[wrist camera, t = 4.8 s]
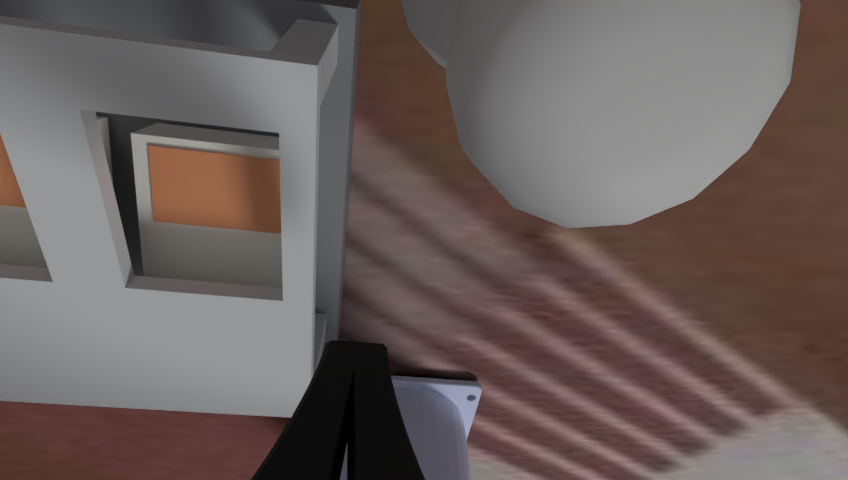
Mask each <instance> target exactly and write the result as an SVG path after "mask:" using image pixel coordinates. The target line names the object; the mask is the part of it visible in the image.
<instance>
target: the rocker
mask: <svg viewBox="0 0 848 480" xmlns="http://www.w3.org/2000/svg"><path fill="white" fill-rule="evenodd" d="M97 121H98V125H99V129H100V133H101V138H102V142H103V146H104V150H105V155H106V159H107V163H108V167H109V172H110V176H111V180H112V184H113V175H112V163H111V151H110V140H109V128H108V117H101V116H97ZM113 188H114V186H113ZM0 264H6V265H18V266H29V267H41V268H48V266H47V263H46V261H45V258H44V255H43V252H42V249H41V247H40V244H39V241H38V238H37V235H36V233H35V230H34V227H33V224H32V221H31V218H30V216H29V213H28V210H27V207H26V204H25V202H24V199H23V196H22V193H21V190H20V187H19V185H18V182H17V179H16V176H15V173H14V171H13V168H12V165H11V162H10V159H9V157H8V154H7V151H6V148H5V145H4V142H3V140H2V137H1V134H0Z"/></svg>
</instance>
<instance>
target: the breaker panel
mask: <svg viewBox="0 0 848 480" xmlns="http://www.w3.org/2000/svg"><path fill="white" fill-rule="evenodd" d="M361 3H362V0H0V134H1V137H2V140H3V142H4V145H5V148H6V151H7V154H8V157H9V159H10V162H11V165H12V168H13V171H14V173H15V176H16V179H17V182H18V185H19V187H20V190H21V193H22V196H23V199H24V202H25V204H26V207H27V210H28V213H29V216H30V218H31V221H32V224H33V227H34V230H35V233H36V235H37V238H38V241H39V244H40V247H41V249H42V252H43V255H44V258H45V261H46V263H47V266H48V268H41V267H29V266H18V265H6V264H0V401H16V402H33V403H50V404H67V405H84V406H101V407H118V408H135V409H152V410H169V411H187V412H204V413H221V414H238V415H255V416H272V417H289V418H291V417H292V415H293V414H294V412H295V410H296V408H297V406H298V404H299V403H300V401H301V399H302V397H303V395H304V393H305V392H306V390H307V388H308V386H309V384H310V381H311V379H312V377H313V375H314V373H315V371H316V369H317V366H318V364H319V361H320V359H321V356H322V354H323V351H324V347H325V344H326V343H327V342H329V341H330V340H335V341H338V337H339V331H340V324H341V312H342V297H343V281H344V266H345V250H346V235H347V219H348V204H349V189H350V173H351V158H352V142H353V127H354V111H355V96H356V80H357V65H358V50H359V34H360V19H361ZM97 116H101V117H108V128H109V140H110V151H111V163H112V175H113V184H112V180H111V176H110V172H109V167H108V163H107V159H106V155H105V150H104V146H103V142H102V138H101V133H100V129H99V125H98V121H97ZM155 123H163V124H172V125H180V126H189V127H197V128H206V129H215V130H223V131H232V132H240V133H249V134H258V135H266V136H275V137H279V155H280V197H281V240H282V283H283V288H276V287H264V286H253V285H241V284H229V283H217V282H206V281H194V280H182V279H170V278H159V277H147V276H143V265H142V253H141V242H140V231H139V220H138V209H137V198H136V187H135V176H134V165H133V153H132V142H131V133H132V132H135V131H137V130H140V129H143V128H145V127H148V126H150V125H153V124H155ZM113 186H114V188H113Z"/></svg>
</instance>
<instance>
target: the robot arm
mask: <svg viewBox="0 0 848 480" xmlns="http://www.w3.org/2000/svg"><path fill="white" fill-rule="evenodd" d="M481 393H482V388H481V385H480V383H478V382H476V381H465V380H451V379H436V378H421V377H407V376H392V375H391V374H390V368H389V362H388V354H387V347H386V346H385V345H384V344H375V343H362V342H349V341H335V340H330V341H329V342H327V343H326V344H325V347H324V351H323V354H322V356H321V359H320V361H319V364H318V366H317V369H316V371H315V373H314V375H313V377H312V379H311V381H310V384H309V386H308V388H307V390H306V392H305V393H304V395H303V397H302V399H301V401H300V403H299V404H298V406H297V408H296V410H295V412H294V414H293V415H292V417H291V419H290V421H289V422H288V424H287V425H286V427H285V429H284V430H283V432H282V433H281V435H280V437H279V438H278V440H277V441H276V443H275V445H274V446H273V448H272V449H271V451H270V453H269V454H268V456H267V457H266V459H265V460H264V462H263V463H262V464H261V466H260V467H259V469H258V470H257V472H256V473H255V475H254V476H253V477H252V479H251V480H471V478H470V470H469V461H468V452H467V443H466V440H467V437H468V434H469V431H470V428H471V425H472V421H473V418H474V415H475V412H476V409H477V405H478V402H479V399H480V396H481Z"/></svg>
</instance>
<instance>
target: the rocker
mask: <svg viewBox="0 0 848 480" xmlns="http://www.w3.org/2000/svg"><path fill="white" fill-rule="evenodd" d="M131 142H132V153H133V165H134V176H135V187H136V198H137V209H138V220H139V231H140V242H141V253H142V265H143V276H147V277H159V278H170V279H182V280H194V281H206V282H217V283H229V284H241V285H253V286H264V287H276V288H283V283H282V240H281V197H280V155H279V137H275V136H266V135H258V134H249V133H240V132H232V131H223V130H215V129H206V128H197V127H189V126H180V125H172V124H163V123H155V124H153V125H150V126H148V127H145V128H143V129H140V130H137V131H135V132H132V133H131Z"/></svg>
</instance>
